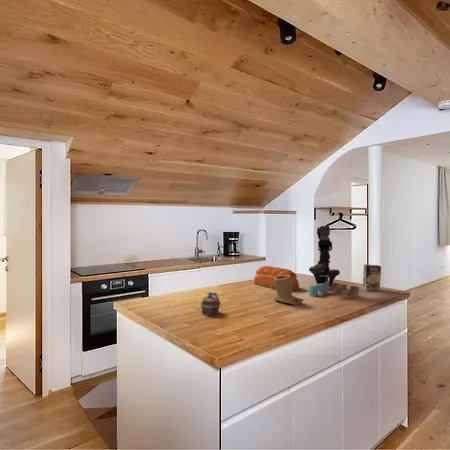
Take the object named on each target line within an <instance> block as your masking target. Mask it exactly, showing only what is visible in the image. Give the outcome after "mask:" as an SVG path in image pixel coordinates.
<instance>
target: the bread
mask: <svg viewBox="0 0 450 450" xmlns="http://www.w3.org/2000/svg"><path fill="white" fill-rule="evenodd" d="M281 275H284V276H287V275H289V276H290V277H291V278H292V292H294V291H297V290H299V289H300V285H299V280H298V279H297V274H296V273H295V272H293V270H291V269H287V268H281V267H278V266H276V267H275V266H270V265H262V266H261V267H259V268H258V269H256V272H255V276H254V278H253V284H254V285H257V286H259V287H260V286H261V287H264V288H269V289H274V290H276V288H275V285H274V278H275V277H277V276H281Z"/></svg>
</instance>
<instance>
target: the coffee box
mask: <svg viewBox="0 0 450 450" xmlns="http://www.w3.org/2000/svg"><path fill="white" fill-rule="evenodd" d="M381 275H382V266H381V265H379V264H363V278H362V279H363V280H362V289H363V290H364V291H365V292H381V283H382V282H381Z"/></svg>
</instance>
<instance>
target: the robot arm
mask: <svg viewBox="0 0 450 450" xmlns="http://www.w3.org/2000/svg"><path fill="white" fill-rule="evenodd" d="M316 235H317V239H318V241H317V250H318V251H319V258H318V261H317V264H315V265H313V266H310V267H309V268H308V272H310V273H311V274H312V275H313V276H314V280H315V281H316V285H317V284H322V283H325V281H329V286H331V285H332V283H333V282H335V281H334V280H335V279H336V277H337V276H339V275H340V274H341V271H340V270H339V269H335V268H334V269H331V267H330V264H331V260H330V259H331V255H330V252H331V251H332V250H333V242H332V241H331V238H330V237H329V236H330V235H331V229H330V228H329V227H328V226H325V225H324V226H323V225H321V226H319V227H317V228H316ZM318 251H317V252H318Z"/></svg>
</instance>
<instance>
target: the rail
mask: <svg viewBox="0 0 450 450" xmlns="http://www.w3.org/2000/svg"><path fill="white" fill-rule="evenodd" d="M325 283H328V287H327V292H330V293H335V294H340V295H345V296H349V297H353V298H354V297H355V298H359V286H357V285H350V287H349V289H348V285H347V283H346V284H345V283H341V282H335V281H333V283H332V285H331V286H329V280H328V281H325Z"/></svg>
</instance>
